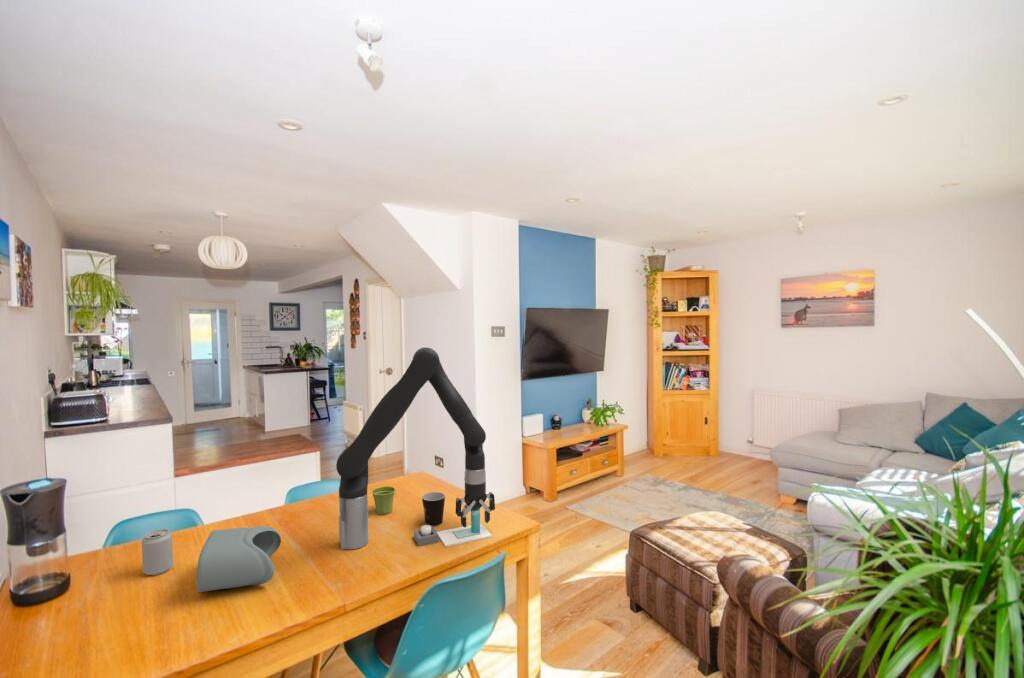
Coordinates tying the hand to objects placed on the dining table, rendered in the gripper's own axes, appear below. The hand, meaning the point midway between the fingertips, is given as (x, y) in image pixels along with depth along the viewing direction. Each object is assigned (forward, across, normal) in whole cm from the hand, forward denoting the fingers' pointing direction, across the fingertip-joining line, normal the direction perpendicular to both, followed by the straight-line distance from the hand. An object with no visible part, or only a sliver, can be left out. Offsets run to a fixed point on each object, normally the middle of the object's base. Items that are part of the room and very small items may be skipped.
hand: (475, 524), depth 172 cm
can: (+3, -98, +18) cm, 99 cm away
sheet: (+3, -4, 0) cm, 5 cm away
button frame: (+3, -18, +2) cm, 18 cm away
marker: (+2, 0, 0) cm, 2 cm away
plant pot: (+3, -26, +34) cm, 43 cm away
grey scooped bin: (+3, -74, +4) cm, 74 cm away
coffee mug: (+3, -10, +16) cm, 20 cm away
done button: (+2, -17, +2) cm, 18 cm away
